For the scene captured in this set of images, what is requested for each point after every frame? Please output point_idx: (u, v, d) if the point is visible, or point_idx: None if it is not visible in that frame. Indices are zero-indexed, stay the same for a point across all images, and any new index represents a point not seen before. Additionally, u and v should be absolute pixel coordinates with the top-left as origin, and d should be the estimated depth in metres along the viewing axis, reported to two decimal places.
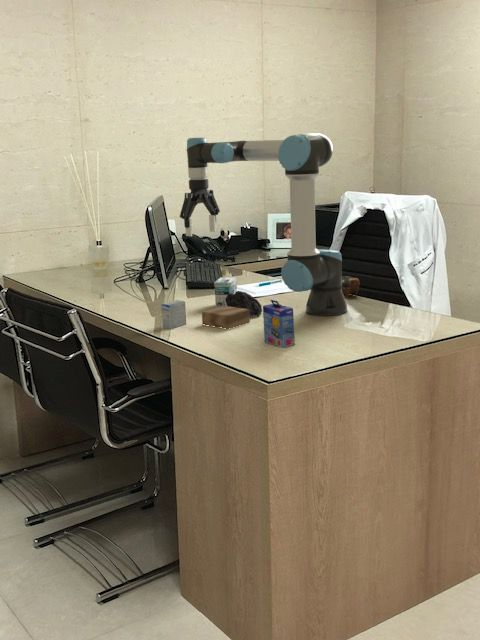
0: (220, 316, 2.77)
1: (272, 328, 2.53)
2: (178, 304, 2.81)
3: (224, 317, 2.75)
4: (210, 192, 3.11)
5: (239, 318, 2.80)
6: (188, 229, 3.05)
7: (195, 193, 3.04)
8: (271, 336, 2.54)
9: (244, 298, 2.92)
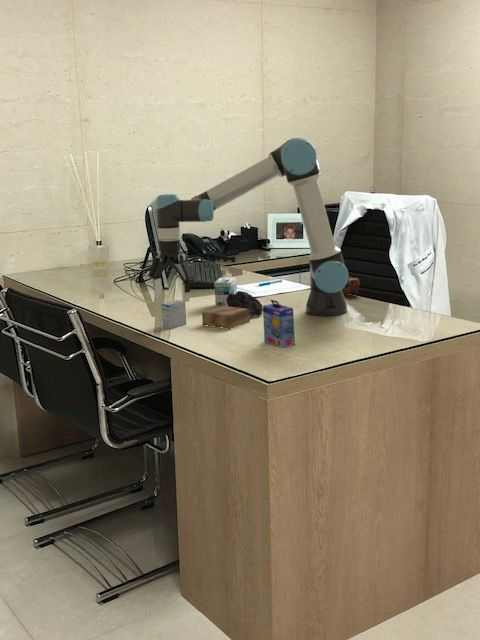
0: (221, 316, 2.77)
1: (272, 328, 2.53)
2: (178, 304, 2.81)
3: (225, 317, 2.75)
4: None
5: (240, 318, 2.80)
6: None
7: (161, 254, 2.79)
8: (271, 336, 2.54)
9: (245, 298, 2.92)
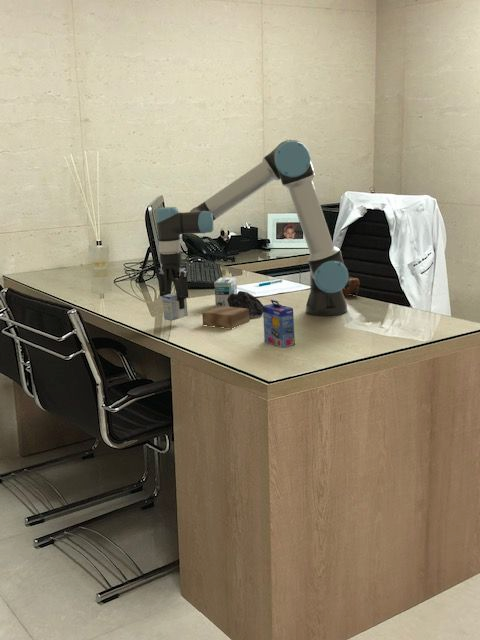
0: (223, 316, 2.77)
1: (272, 328, 2.53)
2: None
3: (227, 317, 2.76)
4: None
5: (240, 317, 2.80)
6: None
7: (162, 267, 2.80)
8: (271, 336, 2.54)
9: (247, 298, 2.92)
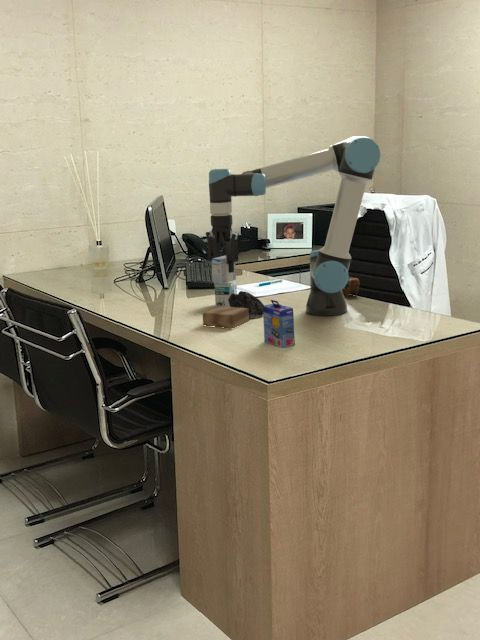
0: (224, 316, 2.77)
1: (272, 328, 2.53)
2: None
3: (228, 317, 2.76)
4: (232, 235, 2.72)
5: (241, 317, 2.81)
6: None
7: (212, 229, 2.77)
8: (271, 336, 2.54)
9: (248, 298, 2.92)
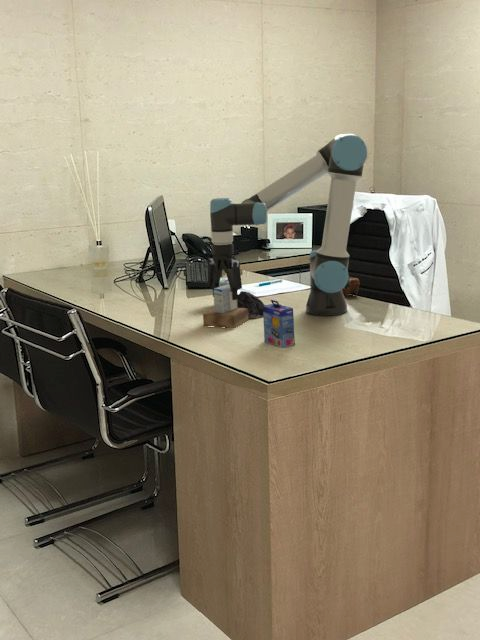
0: (225, 316, 2.77)
1: (272, 328, 2.53)
2: (230, 289, 2.80)
3: (230, 317, 2.76)
4: None
5: (241, 317, 2.81)
6: None
7: (214, 258, 2.80)
8: (271, 336, 2.54)
9: (249, 298, 2.92)
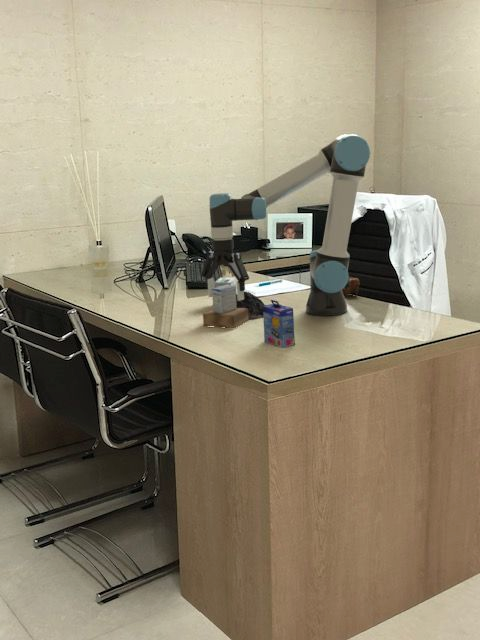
0: (225, 316, 2.76)
1: (272, 328, 2.53)
2: (229, 289, 2.80)
3: (230, 317, 2.76)
4: None
5: (241, 317, 2.81)
6: None
7: (214, 253, 2.79)
8: (271, 336, 2.54)
9: (249, 298, 2.91)
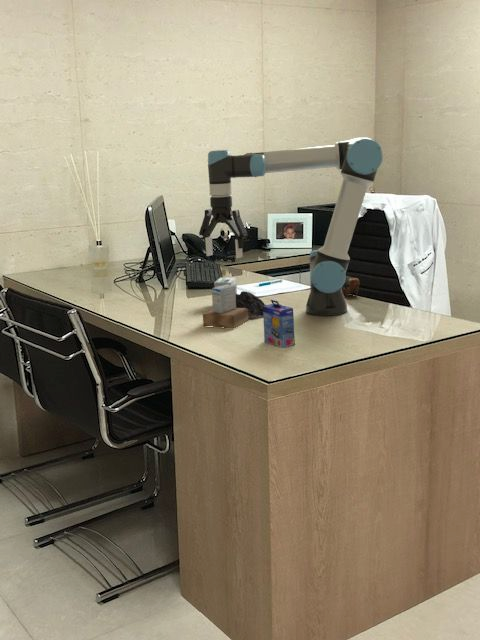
0: (225, 316, 2.76)
1: (272, 328, 2.53)
2: (228, 289, 2.80)
3: (229, 317, 2.76)
4: None
5: (241, 317, 2.81)
6: None
7: (212, 211, 2.77)
8: (271, 336, 2.54)
9: (250, 298, 2.91)
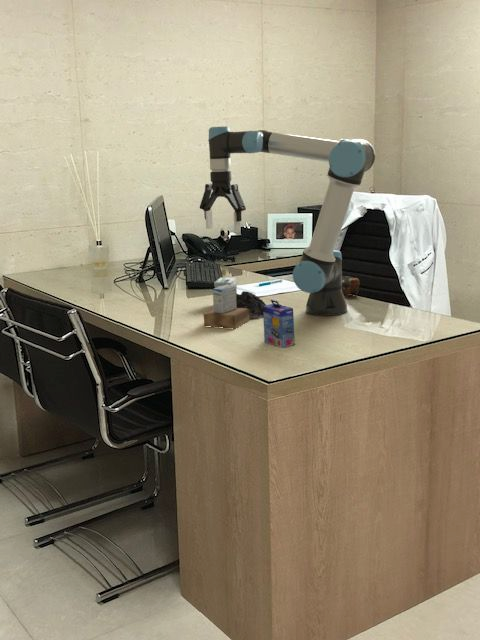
0: (226, 316, 2.76)
1: (272, 328, 2.53)
2: (229, 289, 2.79)
3: (230, 317, 2.75)
4: None
5: (242, 317, 2.81)
6: None
7: (212, 185, 2.89)
8: (271, 336, 2.54)
9: (251, 298, 2.91)
